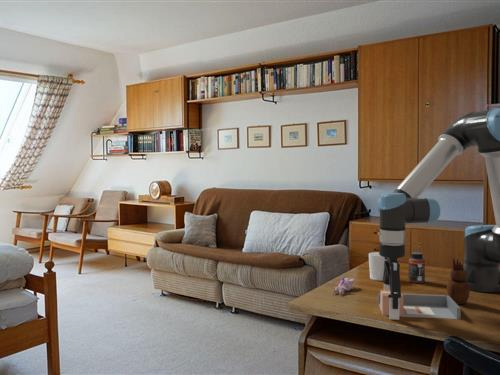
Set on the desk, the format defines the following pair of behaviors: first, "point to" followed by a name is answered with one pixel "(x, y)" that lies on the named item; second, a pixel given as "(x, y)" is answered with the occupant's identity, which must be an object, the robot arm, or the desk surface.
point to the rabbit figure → (343, 286)
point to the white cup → (376, 266)
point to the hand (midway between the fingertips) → (391, 311)
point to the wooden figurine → (458, 284)
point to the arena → (429, 306)
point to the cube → (388, 302)
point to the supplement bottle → (416, 268)
